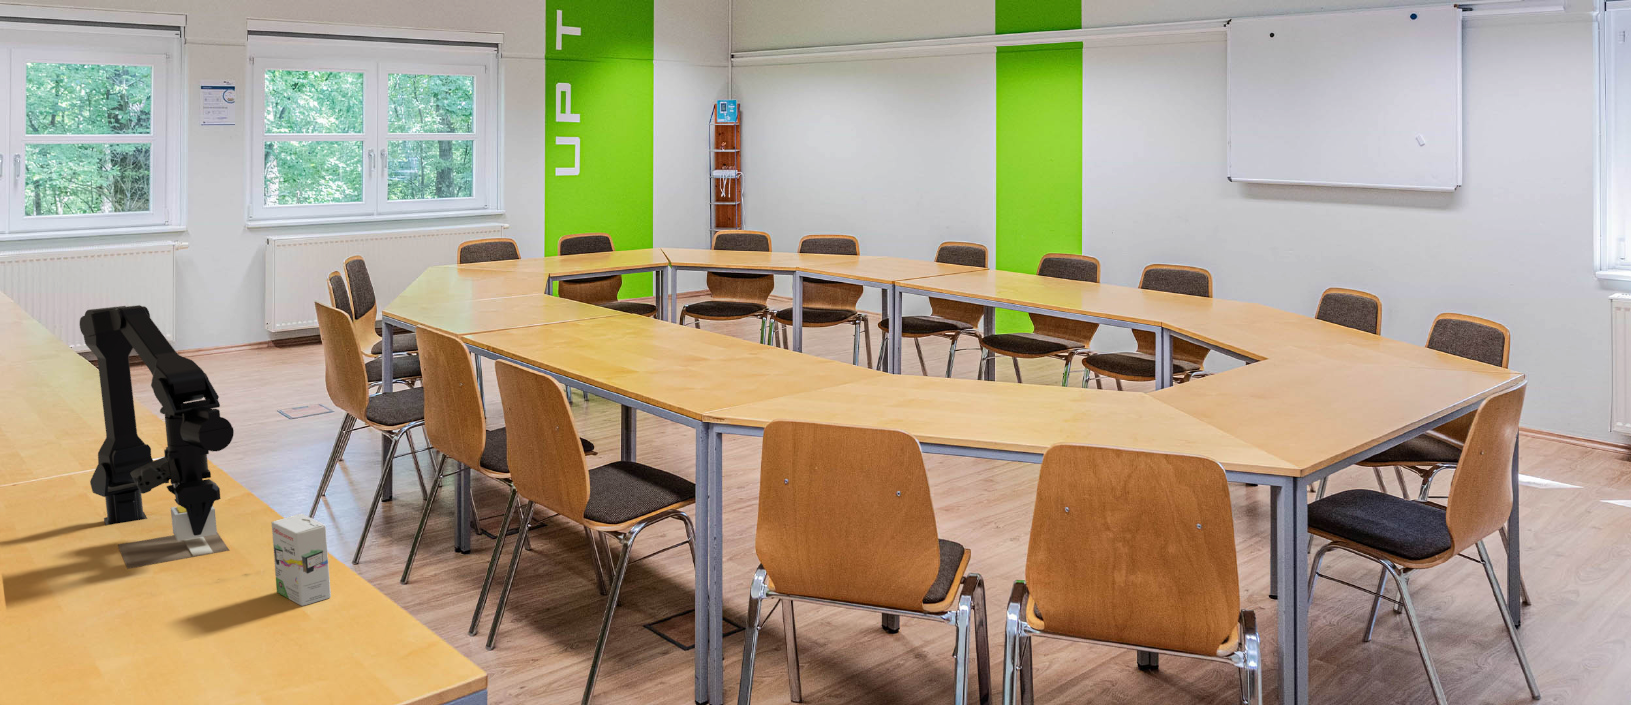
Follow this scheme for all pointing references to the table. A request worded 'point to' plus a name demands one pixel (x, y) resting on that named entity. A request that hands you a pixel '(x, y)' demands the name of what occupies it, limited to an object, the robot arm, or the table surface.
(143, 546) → the subfloor board
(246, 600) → the table surface
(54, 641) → the table surface
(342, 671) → the table surface
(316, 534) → the ink box
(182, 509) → the block
